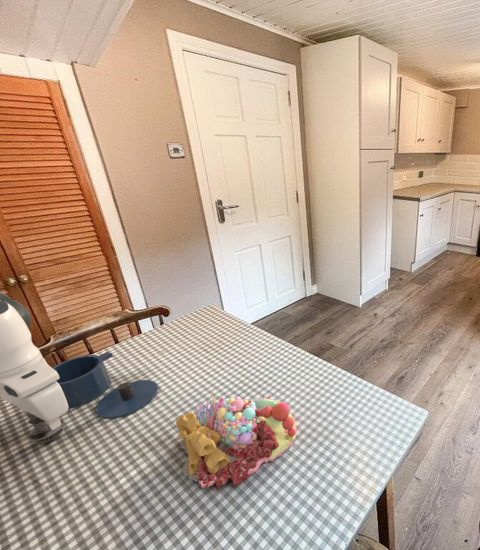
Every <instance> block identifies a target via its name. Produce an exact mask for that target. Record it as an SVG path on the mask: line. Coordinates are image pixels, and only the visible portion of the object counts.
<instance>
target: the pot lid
mask: <svg viewBox="0 0 480 550" xmlns="http://www.w3.org/2000/svg"><path fill="white" fill-rule="evenodd" d="M158 392H159V386H158V384H157V382H156V381H153V380H150V379H140V380H139V379H138V380H134V381H131V382H128V381H127V382H126V381H125V382H123V383H121V384H119V385H118V386H117V387H116V388H114V389H113V390H111V391H110V392H108V393H107V394H105V395H104V396H103V397H102V398H101V399H100V400H99V402H98V403H97V405H96V409H95V411H96V414H97V416H99V417H100V418H102V419H107V420H112V419H114V420H115V419H119V418H123V417H126V416H129V415H131V414H134V413H136V412H138V411H139V410H141V409H143V408H144V407H146V406H147V405H148V404H150V403H151V402H152V401H153V400H154V399H155V398H156V396H157V394H158Z"/></svg>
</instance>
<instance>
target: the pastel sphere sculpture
mask: <svg viewBox="0 0 480 550" xmlns="http://www.w3.org/2000/svg"><path fill="white" fill-rule="evenodd" d="M175 425H176V427H177V429H178V431H179V432H178V433H177V434H176V436H178V437H179V438H180V439H181V440H182V442H181V443H180V449H182V450H184V453H186V454H187V455H188V456H187V457H186V458H185V460H184V464H182V471H183V472H182V474H183V475H185V476H188V479H189V480H191V481H194V482H198V483H199V485H200V487H201V488H202V489H206V488H209V487H211V486H213V485H215V484H216V490H217V492H219V491H220V490H221V489H222V488H223V486H225V484H226V483H227V482H228V481H229V480H230V481H232V483H233V487H236V486H238V485H239V484H241V483H242V482H244V481H246V480H247V479H249V478H250V475H252V474H254V473H257V472H258V470H259V469H260V467H261V466H262V464H263V463H268V462H273V461H274V460H276V458H278V457H281V456H282V455H283V453H284V452H286V451H287V450H288V449H289V448H291V447H292V445H293V443H294V442H295V440H296V438H297V432H298V428H297V422H296V420H295V418H294V417H293V414H292V411H290V406H289V405H288V403H286V402H281V401H279V400H275V399H272V398H271V395H270V394H268V396H267V398H266V397H265V396H264V395H263V396H262V398H255V399H252V400H251V399H242V398H241V396H239V395H238V396H235V397H230V398H223V396H221V397H220V399H219V403H218V401H216V400H215V395H213V396H212V401H211V403H210V405H209V402H208V400H206V403H205V405H204V404H202V401H199V402H198V406H197V405H196V406H195V413H194V412H191V411H189V412H187V413H184V414H183V415H179V416H178V417H177V418H176V421H175Z"/></svg>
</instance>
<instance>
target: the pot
mask: <svg viewBox="0 0 480 550" xmlns="http://www.w3.org/2000/svg"><path fill="white" fill-rule="evenodd" d="M112 357H114V355H113V353H112V352H108V351H106V352H104V353H102V354H100V355H97V354H86V355H80V356H76V357H73V358H70V359H67V360H65V361H62V362H61V363H59V364H56V365H54V366H52V368H53V369H54V370H55V371H56V372H57V373H58V375H59V377H60V378H59V379H58V380H57V382H58V383H59V385H60V386H61V388H62V391H63V393H64V395H65V398H66V401H67V403H68V410H70V409H75V408H78V407H81V406H83V405H85V404H88V403H91V402H93V401H95V400H96V399H97V398H100V397H101V396H102V395H103V394H104V393H106V392H107V391H108V390H109V389H110V387H111V385H112V380H111V377H110V374H109V372H108V370H107V367H106V365H105V361H108V360H109V359H111V358H112Z"/></svg>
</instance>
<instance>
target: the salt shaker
mask: <svg viewBox="0 0 480 550" xmlns="http://www.w3.org/2000/svg"><path fill="white" fill-rule="evenodd" d="M26 413H27V415H28V416H29V417H28V418H29V420H28V424H30V425H32V426H33V428H34V429H33V430H32V431H30V433H29V435H28V440H29V441H31V442H33V443H35V444H39V445H40V444H50V443H53V442H55V440H57V439H58V437H60V435H61V434H62V432H63V430H64V424H65V422H64V420H63V419H60V418H59V420H60V421H61V426H59V427H58V428H56V429H55V430H51V429H50V428H48V427H47V425H46V421H44V420H42V419H41V418H39V417H37V416H35V415H33V414H31V413H29V412H27V411H26Z"/></svg>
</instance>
